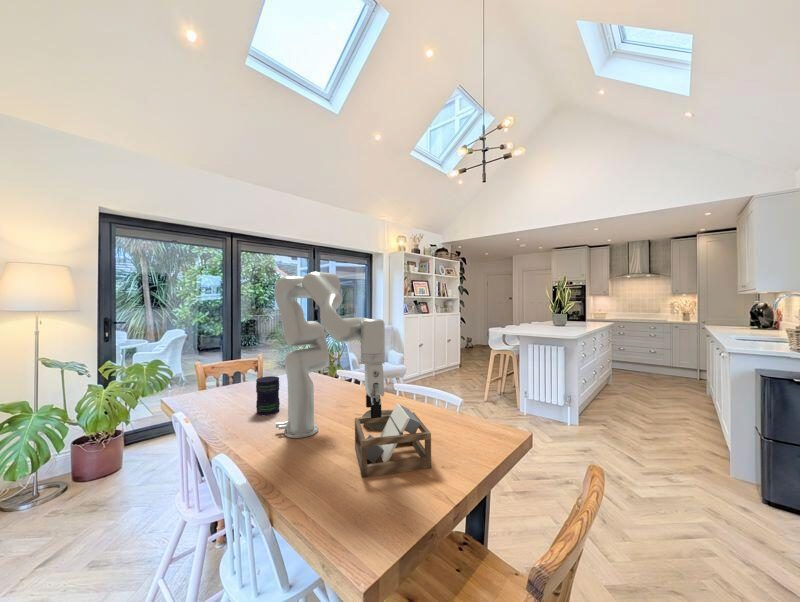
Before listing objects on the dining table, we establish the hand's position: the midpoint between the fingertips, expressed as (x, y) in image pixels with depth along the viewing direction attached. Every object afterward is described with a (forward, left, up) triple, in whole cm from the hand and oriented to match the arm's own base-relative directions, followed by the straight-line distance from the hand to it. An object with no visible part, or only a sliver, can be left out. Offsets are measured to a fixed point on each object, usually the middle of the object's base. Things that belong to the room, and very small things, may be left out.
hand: (373, 412), depth 101 cm
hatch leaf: (+10, 0, -9) cm, 13 cm away
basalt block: (+1, 0, -13) cm, 13 cm away
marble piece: (+9, +28, -16) cm, 34 cm away
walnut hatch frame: (+6, 0, -15) cm, 16 cm away
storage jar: (-39, +56, -15) cm, 70 cm away
